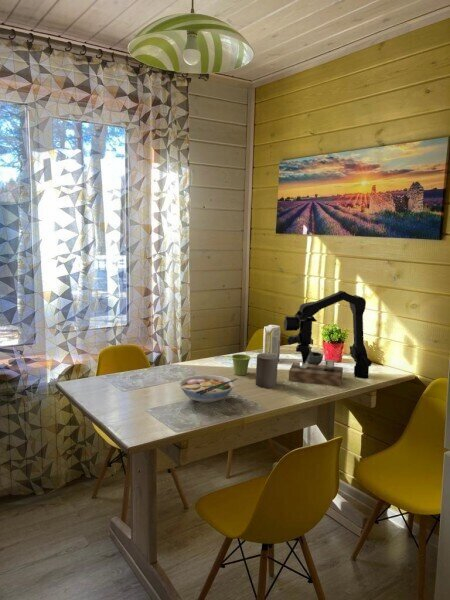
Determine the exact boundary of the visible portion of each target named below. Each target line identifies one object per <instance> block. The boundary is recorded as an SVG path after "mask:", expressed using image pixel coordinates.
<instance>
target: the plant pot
mask: <svg viewBox="0 0 450 600" xmlns="http://www.w3.org/2000/svg"><path fill="white" fill-rule="evenodd" d="M251 358H252V357H251V355H249V354H244V353H237V354H232V355H231V360H232V364H233V374H234V375H236V376H241V377H242V376H244V375H245V376H246V375H247V374H248V367H249V363H250V360H251Z"/></svg>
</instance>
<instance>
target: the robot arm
mask: <svg viewBox="0 0 450 600" xmlns="http://www.w3.org/2000/svg"><path fill="white" fill-rule="evenodd" d="M342 301H344V302H347V303H349V308H350V310H351V313H352V328H353V329H352V330H353V343H352V345H351V346H350V345H349V355H351V358H352V359H353V361H354V363H355V365H354V366H353V376H354V378H361V379H369V377H370V376H369V374H370V373H369V372H370V367H371V366H372V363H373V361H371V359H370V358H369V357H368V353H367V348H366V346H365V343H364V312H365V310H366V306H367V305H366V304H367V302H366V301H367V300H366V299H365V298H364V297H362V296H359V295H357V294H356V295H355V294H354V295H352V294H349V293H347V291H344V290H338V291H337V292H335V293H332V294H330V295H327V296H325V297H323V298H321V299H318V300H316V301H309V302H305V303H302V304H301V305H300V306H299V309H298V311H296V313H295V314H294V316H288V315H285V318H284V320H283V329H284V331H286V332H287V331H288V332H289V331H290V332H291V331H297V332H298V330H299V332H298V333H297V334H294V335H290V336H288V337H286V342H287V344H288V346H291V345H294V344H297V345H296V347H295V351H296V352H298V353H300V355H301V360H302V361H303V362H304V363H305V362H306V360H307V357H308V355H309V353H310V351H312V346H313V345H314V339H313V338H312V335H313V331H312V330H313V322H317V321H318V320H317V319H316V317H314V316H315V315H316V314H318V312H320V311H321V310H322V309H325V308H328V307H329V306H332V305H334V304H337V303H340V302H342Z"/></svg>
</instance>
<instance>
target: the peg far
mask: <svg viewBox="0 0 450 600" xmlns="http://www.w3.org/2000/svg"><path fill="white" fill-rule="evenodd" d="M299 363H300V369H308V362H305V363H304V362H303V360H302V361H299Z"/></svg>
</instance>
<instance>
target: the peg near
mask: <svg viewBox="0 0 450 600" xmlns="http://www.w3.org/2000/svg"><path fill="white" fill-rule="evenodd" d="M324 363H325V364H324V366H325V371H328V372H334V367H335V361H334V360H333V359H326V360H325V362H324Z"/></svg>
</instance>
